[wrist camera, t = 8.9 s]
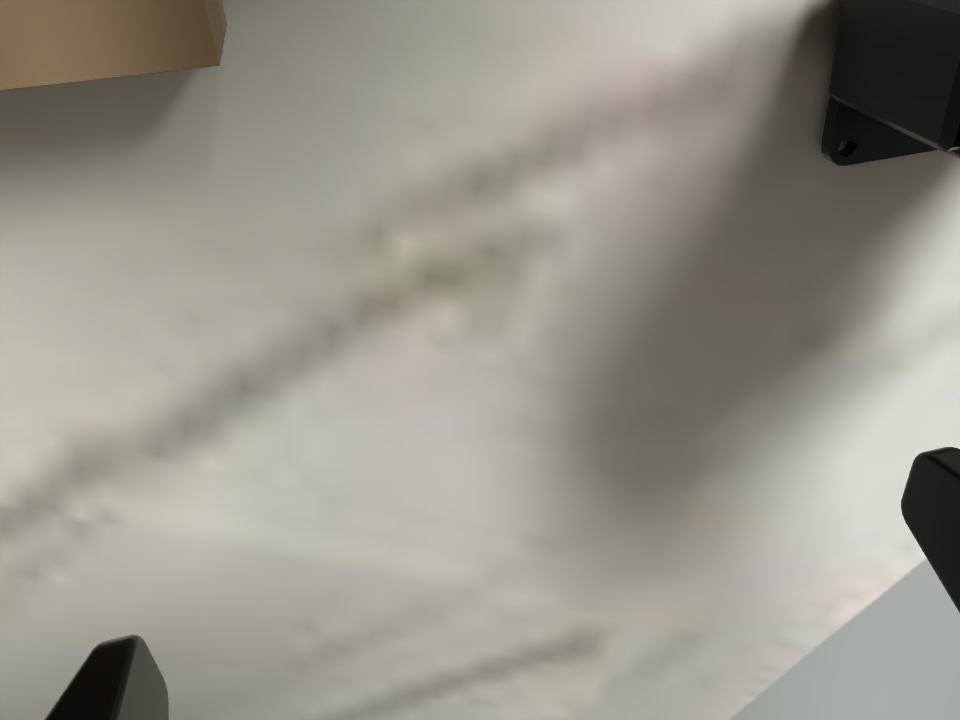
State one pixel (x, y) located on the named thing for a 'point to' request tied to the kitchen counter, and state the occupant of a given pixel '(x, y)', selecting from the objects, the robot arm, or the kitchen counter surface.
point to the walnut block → (105, 39)
